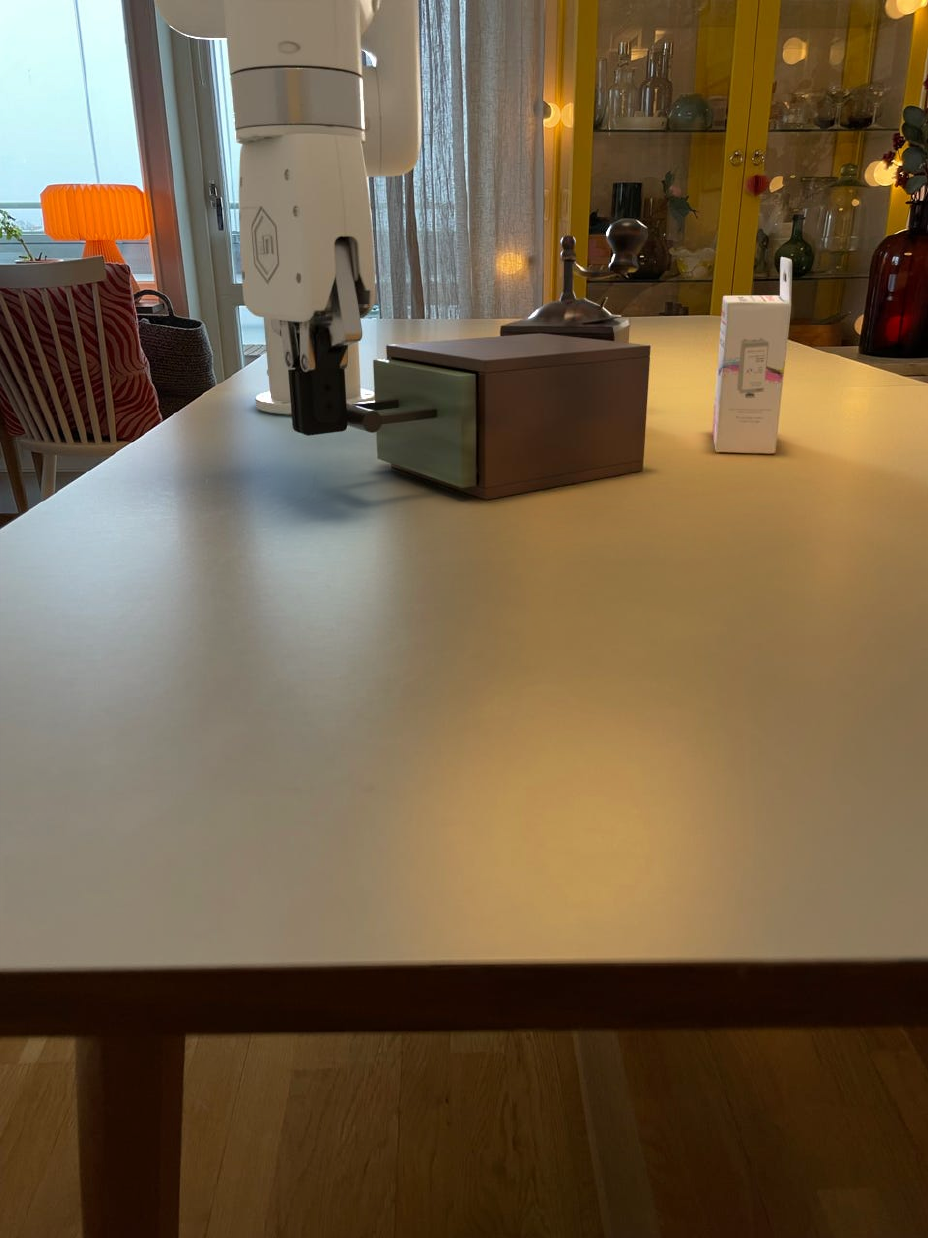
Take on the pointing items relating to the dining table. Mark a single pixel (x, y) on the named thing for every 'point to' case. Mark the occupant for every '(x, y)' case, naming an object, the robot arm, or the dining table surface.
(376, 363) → the drawer
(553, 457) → the cabinet
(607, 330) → the manual coffee grinder
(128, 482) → the dining table surface
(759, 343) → the ink cartridge box
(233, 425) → the dining table surface
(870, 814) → the dining table surface
